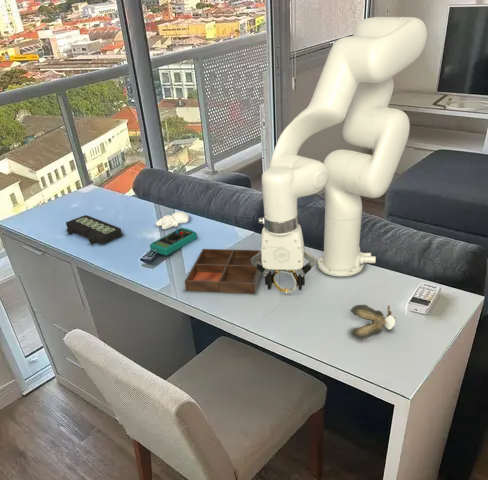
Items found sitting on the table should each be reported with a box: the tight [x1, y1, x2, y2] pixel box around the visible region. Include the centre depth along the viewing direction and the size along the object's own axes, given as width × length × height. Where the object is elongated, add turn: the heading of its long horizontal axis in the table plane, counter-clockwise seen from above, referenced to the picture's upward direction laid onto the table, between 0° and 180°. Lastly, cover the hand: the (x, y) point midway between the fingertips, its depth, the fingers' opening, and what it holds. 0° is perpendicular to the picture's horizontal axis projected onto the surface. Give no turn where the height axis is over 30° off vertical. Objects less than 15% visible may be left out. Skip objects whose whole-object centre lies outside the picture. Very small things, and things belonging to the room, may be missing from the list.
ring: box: [271, 270, 298, 294], centre depth 122 cm, size 7×3×8 cm, turn 58°
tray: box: [184, 248, 262, 295], centre depth 136 cm, size 19×19×3 cm
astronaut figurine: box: [155, 210, 190, 230], centre depth 168 cm, size 9×12×3 cm
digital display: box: [65, 214, 123, 245], centre depth 165 cm, size 21×3×10 cm
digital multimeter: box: [149, 227, 198, 257], centre depth 154 cm, size 7×15×3 cm, turn 142°
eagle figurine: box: [350, 304, 397, 340], centre depth 110 cm, size 8×7×9 cm
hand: (285, 286), depth 123 cm, fingers closed on ring, 7 cm apart
